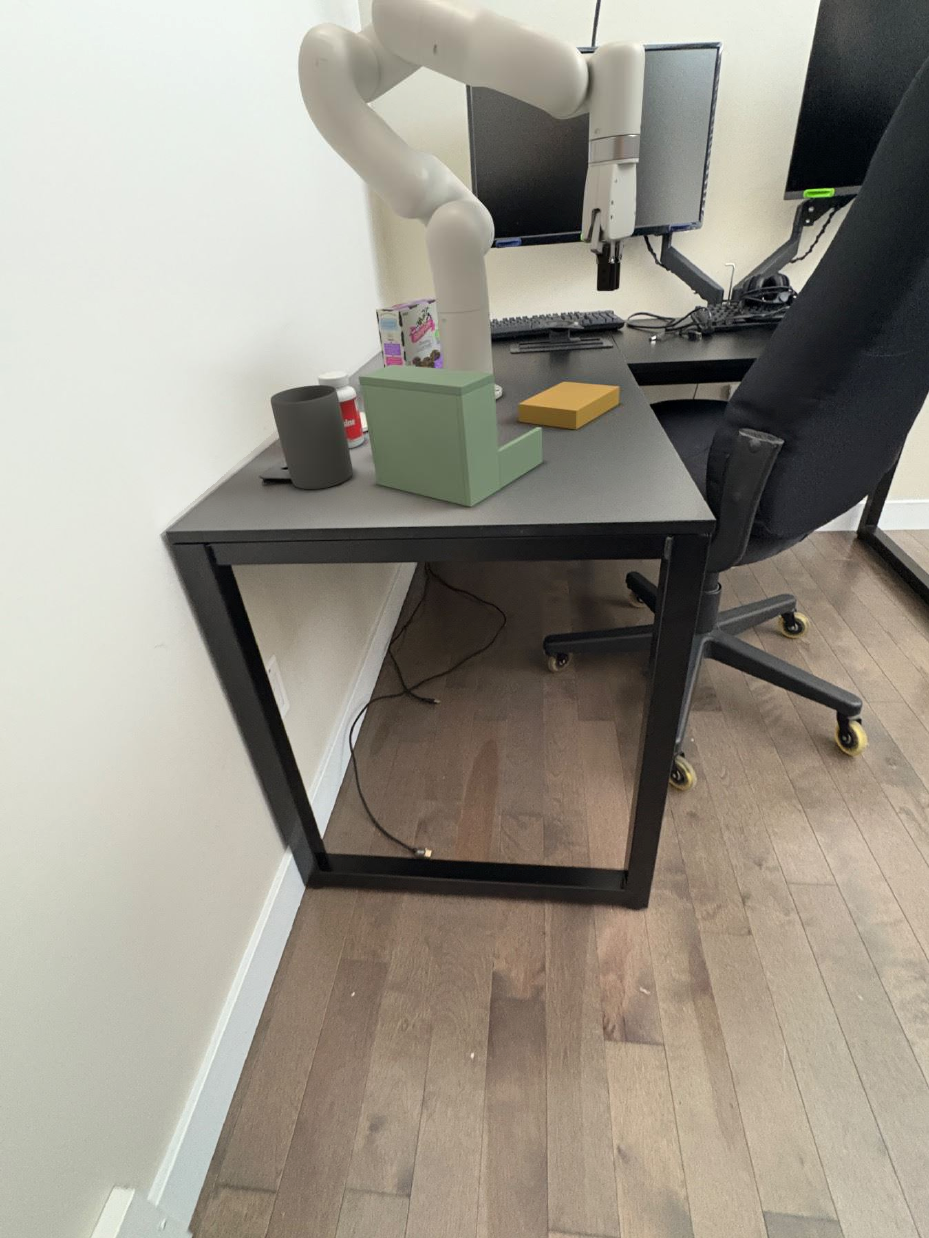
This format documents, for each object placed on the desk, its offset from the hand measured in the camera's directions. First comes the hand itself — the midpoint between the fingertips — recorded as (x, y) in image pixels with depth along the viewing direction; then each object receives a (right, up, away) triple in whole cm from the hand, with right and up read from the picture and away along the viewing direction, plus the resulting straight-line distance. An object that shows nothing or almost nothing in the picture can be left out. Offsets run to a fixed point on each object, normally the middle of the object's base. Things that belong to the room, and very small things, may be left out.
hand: (607, 289), depth 102 cm
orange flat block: (-6, -20, +2) cm, 21 cm away
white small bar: (-45, -20, +9) cm, 50 cm away
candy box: (-34, -9, +23) cm, 42 cm away
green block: (-25, -35, -17) cm, 46 cm away
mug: (-47, -34, -12) cm, 59 cm away
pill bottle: (-44, -27, -1) cm, 52 cm away
